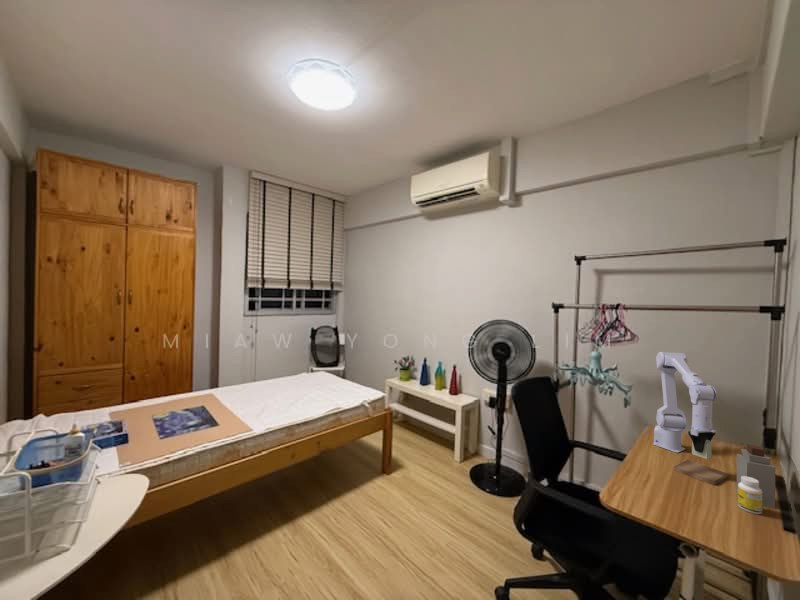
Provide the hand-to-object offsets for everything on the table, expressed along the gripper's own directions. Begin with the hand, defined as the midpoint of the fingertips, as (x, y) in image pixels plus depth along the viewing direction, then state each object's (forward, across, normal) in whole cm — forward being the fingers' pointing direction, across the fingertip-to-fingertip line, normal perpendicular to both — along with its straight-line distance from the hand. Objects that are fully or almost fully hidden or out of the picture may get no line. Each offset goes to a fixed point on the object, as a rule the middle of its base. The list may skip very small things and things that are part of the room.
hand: (701, 450), depth 127 cm
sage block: (+2, 0, 0) cm, 2 cm away
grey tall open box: (+9, -6, -16) cm, 19 cm away
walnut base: (+9, -1, 0) cm, 9 cm away
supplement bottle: (+9, -15, -17) cm, 24 cm away
